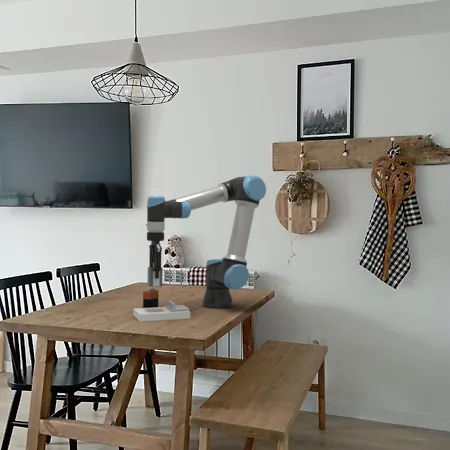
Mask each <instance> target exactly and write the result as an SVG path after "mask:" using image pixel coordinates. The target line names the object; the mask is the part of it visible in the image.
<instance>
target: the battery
mask: <svg viewBox="0 0 450 450" xmlns="http://www.w3.org/2000/svg"><path fill="white" fill-rule="evenodd" d="M155 307H159V290H158V289H156V287H150V289H146V290H144V291H142V308H155Z"/></svg>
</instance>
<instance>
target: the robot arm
mask: <svg viewBox="0 0 450 450" xmlns="http://www.w3.org/2000/svg"><path fill="white" fill-rule="evenodd" d="M266 194H267V187H266V184H265V182H264V180H263V178H261V177H260V176H257V175H247V176H246V175H245V176H238V177H237V176H236V177H234V178H232V179H230V180H227V181H224V182H221V183H219V184H217V186H215V187H211V188H207V189H203V190H201V191H197V192H193V193H191V194H186V195H183V196H179V197H177V198H176V197H175V198H174V199H170V200H166V197H165V196H160V195H149V196H148V197H147V203H146V212H147V214H146V221H147V222H146V224H145V226H146V230H147V232H146V241H148V242H150V245H149V249H148V250H149V256H148V257H149V263H148V264H149V265H148V267H153V263H154V270H152V271H153V286H160V270H161V268H162V249H163V248H162V246H161V243H160V242H164V241H165V232H164V231H165V222H166V221H165V220H166V219H188V218H189V217H190V216H191V213H192V212H191V211H193V210H197V209H201V208H204V207H207V206H209V205H210V206H211V205H213V204H214V205H215V204H217V203H221V202H222V203H227V202H233V201H234V202H235V204H236V209H235V214H234V219H233V222H232V223H233V224H232V229H231V235H230V238H229V244H228V249H227V252H226V255H224V256H223V258H215V259H207V261H206V264H205V292H204V295H203V299H202V301H201V302H202V303H201V306H202V307H205V308H210V309H225V308H231V307H233V306H234V305H233V304H234V302H233V297H232V295H231V291H230V289H232V290H238V289H241V288H243V287H244V286H246V284H247V283H248V281H249V278H250V272H249V269H248V267H247V266H248V265H247V264H248V261H247V259H246V254H247V249H248V244H249V238H250V234H251V229H252V224H253V220H254V219H253V218H254V215H255V210H256V209H257V208H258V207H259V206H260V205H259V204H260V200H262V199H263V198H264V197H265V196H266Z"/></svg>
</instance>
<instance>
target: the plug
mask: <svg viewBox="0 0 450 450" xmlns="http://www.w3.org/2000/svg"><path fill="white" fill-rule="evenodd" d="M152 270H154V263H153V267H149V266H148V267H147V287H149V288H157V287H158V288H159V287H163V267H161V270H160V286H153V271H152Z"/></svg>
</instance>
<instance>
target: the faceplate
mask: <svg viewBox="0 0 450 450" xmlns="http://www.w3.org/2000/svg"><path fill="white" fill-rule="evenodd" d="M132 314H133V317H134V318H135V319H136V320H137V321H138V322H139V323H142V322H143V323H144V322H156V321H157V322H159V321H173V320H176V321H177V320H188V319H189V320H190V319H191V311H190V310H183V311H171V310H169V309H168V308H166V306H161V307H159V306H158V307H155V308H143V307H142V308H141V307H140V308H139V307H138V308H133V312H132Z"/></svg>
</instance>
